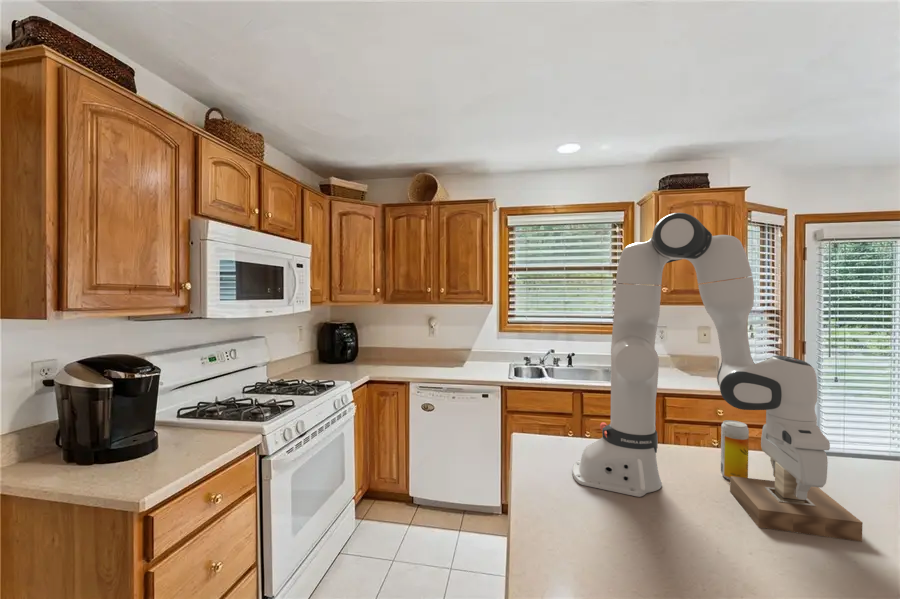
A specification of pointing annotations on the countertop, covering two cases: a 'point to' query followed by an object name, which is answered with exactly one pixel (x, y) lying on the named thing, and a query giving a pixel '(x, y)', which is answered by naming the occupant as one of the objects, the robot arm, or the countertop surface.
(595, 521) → the countertop surface
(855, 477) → the countertop surface
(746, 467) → the beer can
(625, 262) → the robot arm
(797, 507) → the walnut board
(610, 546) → the countertop surface
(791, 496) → the birch peg
